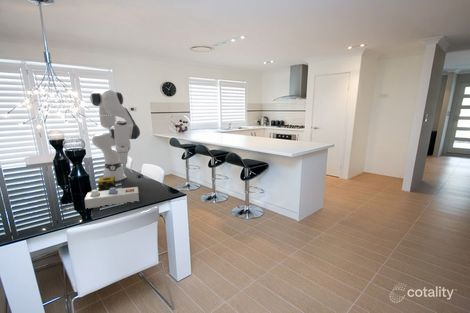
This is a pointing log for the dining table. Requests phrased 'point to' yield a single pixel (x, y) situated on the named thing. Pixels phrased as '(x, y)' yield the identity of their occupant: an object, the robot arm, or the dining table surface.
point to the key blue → (112, 191)
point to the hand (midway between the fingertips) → (124, 167)
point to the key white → (95, 193)
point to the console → (111, 197)
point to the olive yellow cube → (106, 183)
